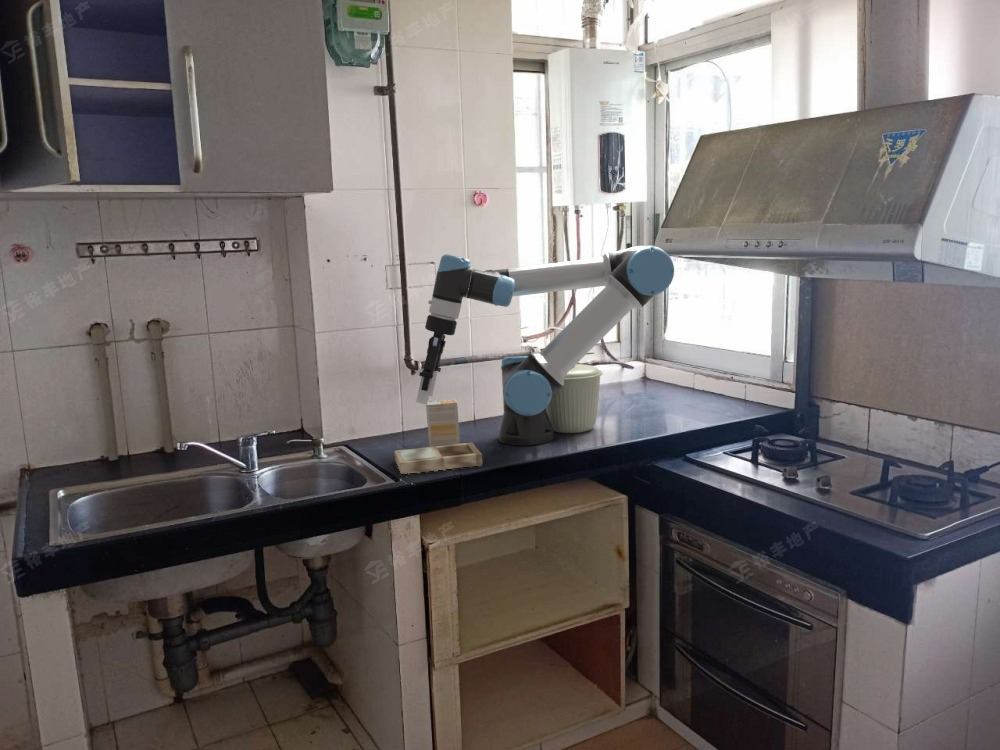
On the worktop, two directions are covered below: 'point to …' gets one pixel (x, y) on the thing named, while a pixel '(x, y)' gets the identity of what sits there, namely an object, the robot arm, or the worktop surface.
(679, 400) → the worktop surface
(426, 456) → the board
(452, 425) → the supplement box
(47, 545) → the worktop surface
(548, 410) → the canister
